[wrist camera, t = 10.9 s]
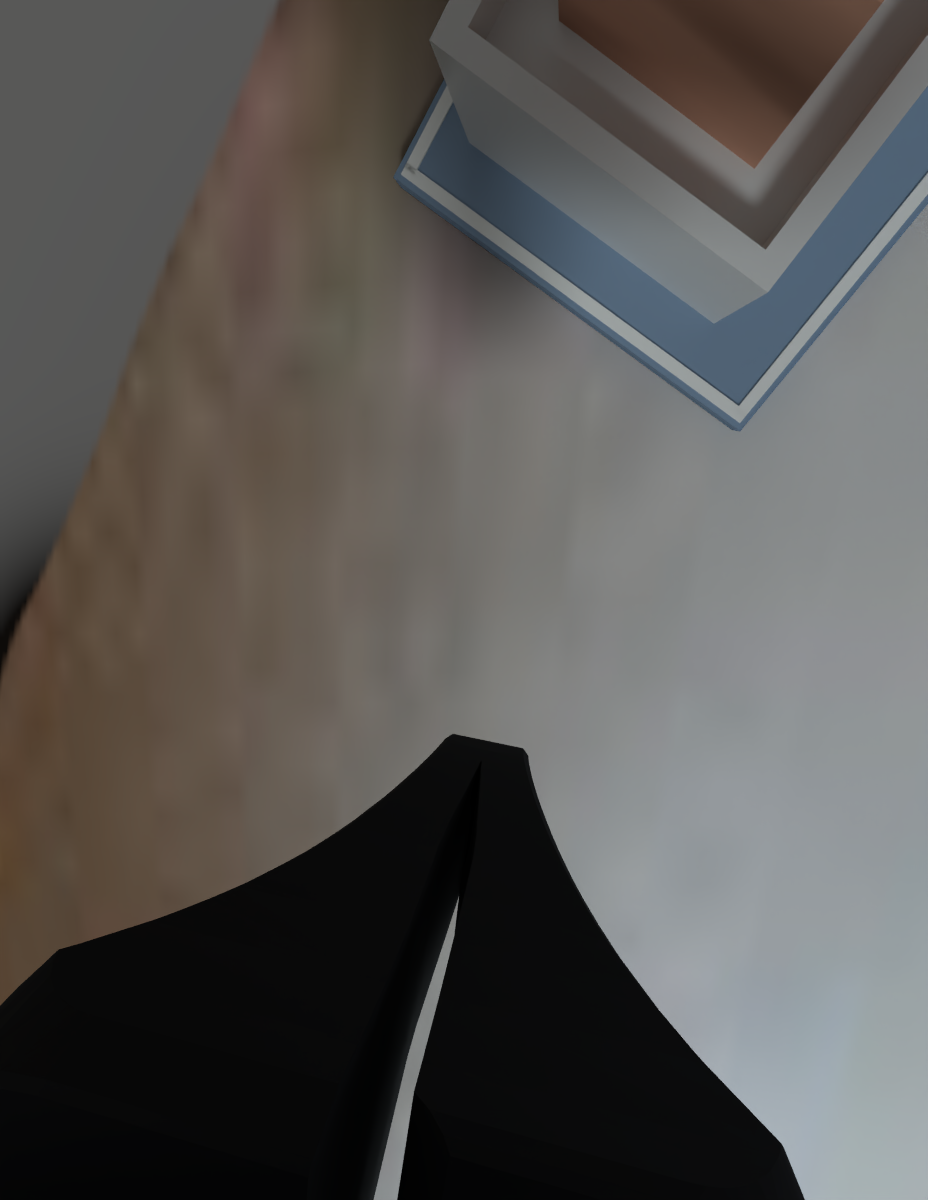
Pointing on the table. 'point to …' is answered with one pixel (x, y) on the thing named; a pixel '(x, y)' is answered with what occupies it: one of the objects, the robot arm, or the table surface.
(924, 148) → the board
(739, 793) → the table surface
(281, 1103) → the robot arm
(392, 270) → the table surface
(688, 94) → the terracotta block
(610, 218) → the socket pedestal
